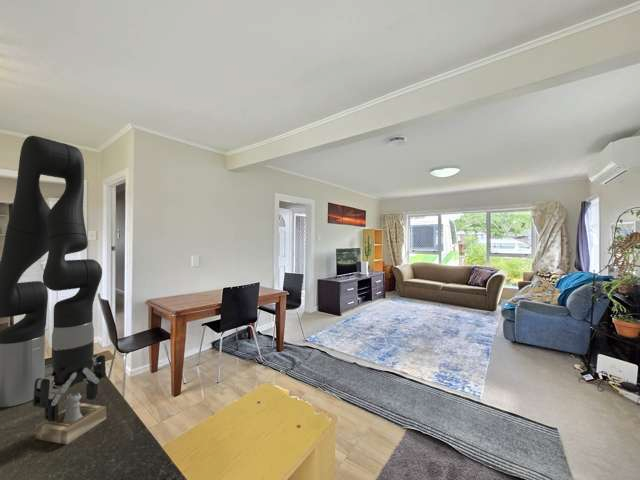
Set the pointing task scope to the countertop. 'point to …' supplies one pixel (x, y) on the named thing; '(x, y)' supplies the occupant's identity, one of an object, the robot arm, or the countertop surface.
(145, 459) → the countertop surface
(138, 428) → the countertop surface
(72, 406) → the rook chess piece
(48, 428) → the socket block
